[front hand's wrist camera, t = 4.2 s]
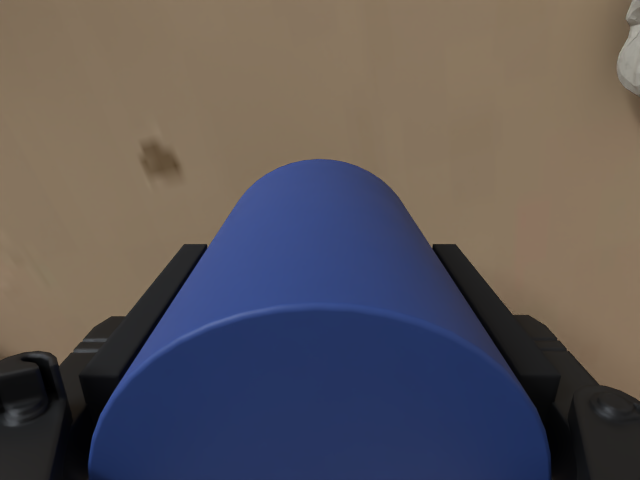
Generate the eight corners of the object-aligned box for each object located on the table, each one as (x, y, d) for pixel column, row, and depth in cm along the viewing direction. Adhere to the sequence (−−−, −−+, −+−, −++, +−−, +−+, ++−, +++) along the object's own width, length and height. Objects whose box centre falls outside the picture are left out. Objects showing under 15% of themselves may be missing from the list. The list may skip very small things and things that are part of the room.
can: (452, 218, 16) (659, 437, 6) (353, 360, 18) (390, 677, 9) (277, 120, 15) (195, 205, 5) (195, 286, 17) (30, 564, 7)
